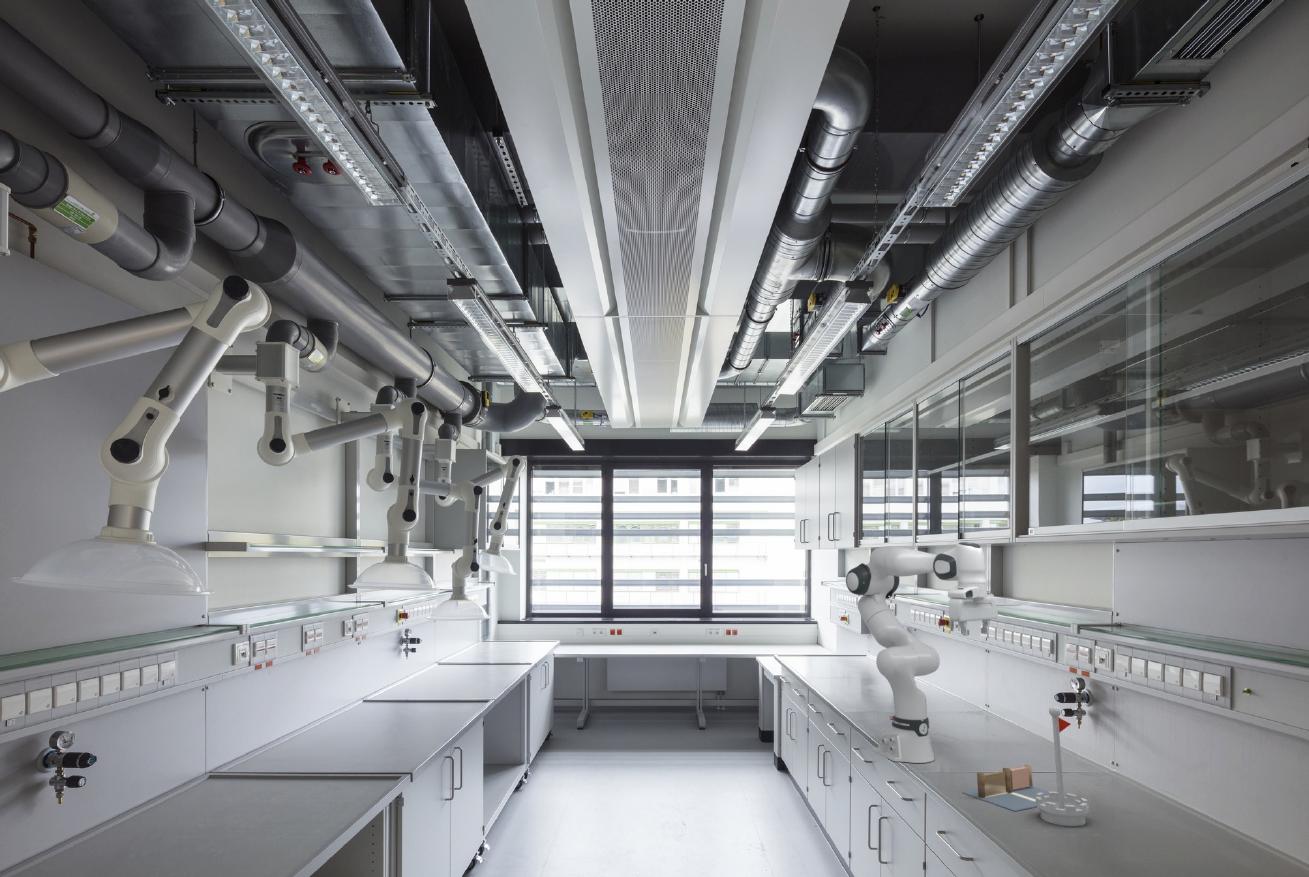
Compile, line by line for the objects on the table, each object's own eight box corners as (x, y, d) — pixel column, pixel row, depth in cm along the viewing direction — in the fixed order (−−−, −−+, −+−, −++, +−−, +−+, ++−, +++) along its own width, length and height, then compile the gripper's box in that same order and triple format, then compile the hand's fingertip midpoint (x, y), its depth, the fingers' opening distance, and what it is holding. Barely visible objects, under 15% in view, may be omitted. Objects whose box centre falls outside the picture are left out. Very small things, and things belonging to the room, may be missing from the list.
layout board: (962, 792, 239) (962, 791, 239) (1016, 782, 249) (1016, 781, 249) (1015, 811, 222) (1015, 810, 222) (1070, 799, 232) (1070, 798, 232)
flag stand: (1061, 829, 208) (1052, 712, 212) (1026, 813, 221) (1018, 703, 225) (1101, 824, 212) (1091, 709, 216) (1064, 809, 224) (1056, 700, 228)
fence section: (1008, 788, 241) (1007, 767, 241) (1028, 784, 244) (1027, 764, 245) (1013, 789, 239) (1012, 769, 240) (1033, 785, 243) (1032, 765, 244)
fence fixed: (976, 795, 235) (975, 772, 236) (1007, 789, 241) (1005, 767, 242) (982, 797, 233) (981, 774, 234) (1013, 791, 239) (1011, 769, 240)
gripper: (984, 590, 267) (987, 631, 265) (944, 592, 257) (946, 635, 255) (1001, 590, 262) (1004, 633, 260) (960, 593, 251) (962, 637, 250)
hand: (975, 634), depth 257 cm, fingers open, 8 cm apart
